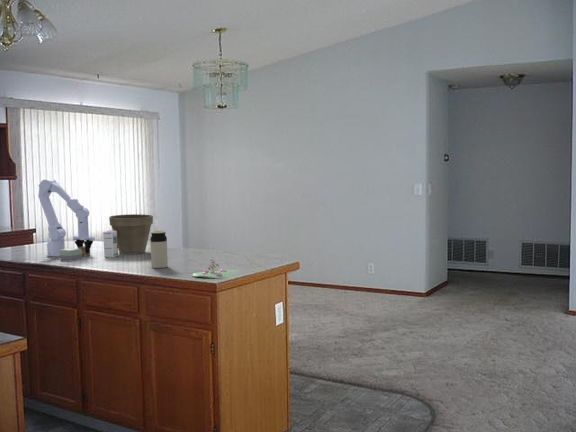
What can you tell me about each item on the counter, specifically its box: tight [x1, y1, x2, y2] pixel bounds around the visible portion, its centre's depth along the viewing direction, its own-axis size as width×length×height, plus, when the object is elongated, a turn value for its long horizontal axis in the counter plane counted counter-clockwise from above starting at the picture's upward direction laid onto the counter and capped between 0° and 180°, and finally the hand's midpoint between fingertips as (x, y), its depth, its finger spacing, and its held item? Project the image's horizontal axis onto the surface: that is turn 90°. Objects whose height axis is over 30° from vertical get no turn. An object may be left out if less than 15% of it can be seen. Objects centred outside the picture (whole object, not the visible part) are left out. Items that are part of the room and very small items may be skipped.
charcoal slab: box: [59, 254, 83, 262], centre depth 348 cm, size 8×8×3 cm
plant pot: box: [108, 213, 154, 255], centre depth 368 cm, size 25×25×22 cm
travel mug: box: [149, 230, 169, 269], centre depth 314 cm, size 8×8×18 cm
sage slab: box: [60, 247, 82, 256], centre depth 347 cm, size 8×8×3 cm
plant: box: [191, 256, 241, 279], centre depth 293 cm, size 25×21×9 cm
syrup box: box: [102, 230, 119, 258], centre depth 355 cm, size 6×6×14 cm
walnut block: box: [77, 245, 91, 257], centre depth 362 cm, size 4×4×5 cm
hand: (84, 252), depth 362 cm, fingers closed on walnut block, 4 cm apart
